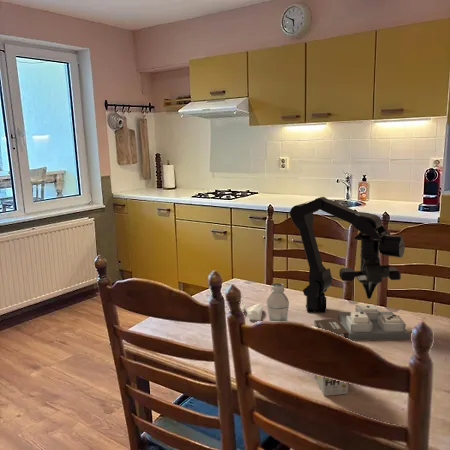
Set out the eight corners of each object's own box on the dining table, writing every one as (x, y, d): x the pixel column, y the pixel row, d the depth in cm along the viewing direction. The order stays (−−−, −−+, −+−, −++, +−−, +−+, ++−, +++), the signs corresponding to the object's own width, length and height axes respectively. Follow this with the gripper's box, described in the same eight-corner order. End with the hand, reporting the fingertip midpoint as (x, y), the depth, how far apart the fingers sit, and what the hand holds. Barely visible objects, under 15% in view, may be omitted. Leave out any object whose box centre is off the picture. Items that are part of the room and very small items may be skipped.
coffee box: (349, 394, 106) (350, 333, 103) (323, 396, 106) (323, 335, 103) (336, 374, 115) (337, 317, 112) (313, 376, 115) (313, 319, 112)
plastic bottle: (284, 355, 126) (283, 290, 123) (263, 350, 130) (262, 286, 126) (293, 346, 132) (292, 283, 128) (273, 341, 135) (272, 280, 132)
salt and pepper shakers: (258, 323, 150) (270, 312, 159) (257, 312, 149) (270, 301, 159) (227, 318, 156) (241, 307, 165) (227, 306, 155) (241, 297, 164)
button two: (353, 326, 136) (353, 316, 136) (350, 320, 140) (350, 311, 140) (367, 326, 136) (368, 316, 135) (364, 320, 140) (364, 311, 140)
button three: (386, 329, 136) (386, 319, 135) (382, 323, 140) (382, 314, 139) (400, 329, 135) (400, 319, 135) (396, 323, 140) (396, 314, 139)
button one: (362, 317, 145) (362, 308, 144) (359, 312, 149) (359, 304, 148) (376, 317, 144) (376, 308, 144) (372, 312, 149) (372, 303, 148)
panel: (349, 339, 135) (349, 326, 134) (338, 317, 151) (338, 305, 150) (408, 339, 133) (409, 325, 132) (391, 317, 150) (392, 304, 149)
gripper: (345, 260, 135) (345, 307, 138) (407, 259, 134) (405, 307, 137) (339, 251, 146) (338, 295, 149) (395, 250, 145) (394, 294, 148)
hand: (368, 298), depth 145 cm, fingers closed
